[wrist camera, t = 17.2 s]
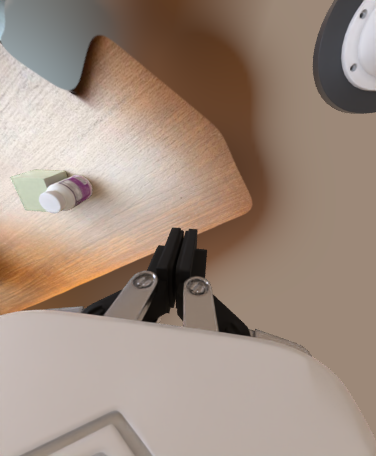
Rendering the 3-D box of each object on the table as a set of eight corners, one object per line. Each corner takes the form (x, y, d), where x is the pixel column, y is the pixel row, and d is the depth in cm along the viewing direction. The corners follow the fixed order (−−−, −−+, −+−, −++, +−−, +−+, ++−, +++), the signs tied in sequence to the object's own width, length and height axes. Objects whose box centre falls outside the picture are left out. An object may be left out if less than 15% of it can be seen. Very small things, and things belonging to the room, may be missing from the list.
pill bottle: (77, 199, 44) (45, 219, 35) (65, 177, 41) (27, 192, 33) (98, 195, 43) (69, 214, 34) (86, 171, 40) (52, 186, 32)
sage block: (65, 170, 41) (43, 178, 35) (74, 201, 44) (56, 212, 39) (35, 169, 41) (9, 176, 36) (47, 199, 45) (25, 210, 40)
